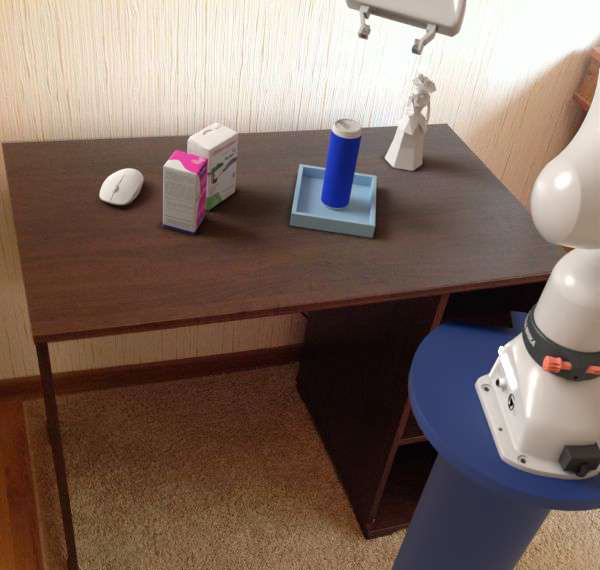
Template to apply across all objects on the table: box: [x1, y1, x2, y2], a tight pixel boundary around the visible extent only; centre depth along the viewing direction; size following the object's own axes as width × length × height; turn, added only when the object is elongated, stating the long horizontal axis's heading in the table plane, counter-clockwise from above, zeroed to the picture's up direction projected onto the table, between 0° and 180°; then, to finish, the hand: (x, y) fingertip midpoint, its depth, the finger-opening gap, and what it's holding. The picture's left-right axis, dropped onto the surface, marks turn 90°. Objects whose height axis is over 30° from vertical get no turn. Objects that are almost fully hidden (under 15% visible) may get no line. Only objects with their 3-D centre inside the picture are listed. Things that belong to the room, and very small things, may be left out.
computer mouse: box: [98, 167, 145, 207], centre depth 130 cm, size 6×10×3 cm, turn 164°
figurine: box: [384, 72, 437, 172], centre depth 144 cm, size 7×8×18 cm
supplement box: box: [162, 149, 208, 235], centre depth 124 cm, size 6×6×12 cm
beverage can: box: [321, 118, 363, 210], centre depth 131 cm, size 5×5×15 cm
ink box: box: [186, 122, 239, 212], centre depth 130 cm, size 9×5×12 cm, turn 149°
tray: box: [289, 163, 378, 239], centre depth 136 cm, size 17×15×2 cm
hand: (388, 44), depth 124 cm, fingers open, 8 cm apart
